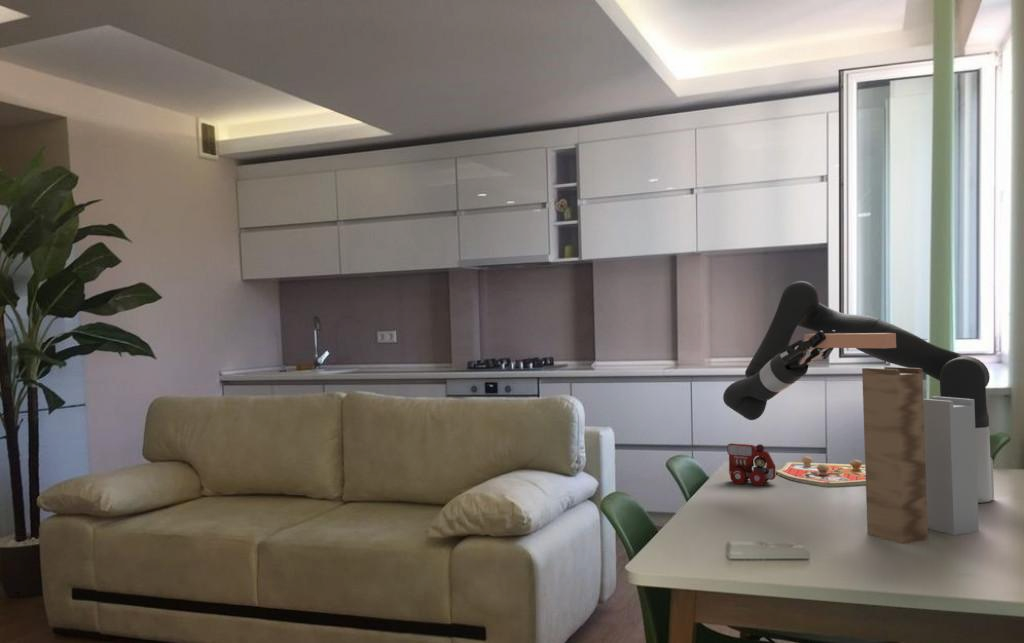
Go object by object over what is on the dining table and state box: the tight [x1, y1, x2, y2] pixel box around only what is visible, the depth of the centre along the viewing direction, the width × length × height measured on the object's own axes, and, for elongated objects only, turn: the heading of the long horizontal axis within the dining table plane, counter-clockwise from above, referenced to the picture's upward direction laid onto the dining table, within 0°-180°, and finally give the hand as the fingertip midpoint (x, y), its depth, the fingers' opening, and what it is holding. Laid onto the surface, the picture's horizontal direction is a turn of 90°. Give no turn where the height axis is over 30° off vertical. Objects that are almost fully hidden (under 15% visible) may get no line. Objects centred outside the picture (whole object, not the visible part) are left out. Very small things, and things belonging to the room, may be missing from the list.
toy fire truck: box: [726, 442, 777, 487], centre depth 206 cm, size 7×12×10 cm, turn 58°
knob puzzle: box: [775, 455, 866, 488], centre depth 212 cm, size 29×30×4 cm
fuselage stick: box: [803, 333, 896, 349], centre depth 166 cm, size 3×22×3 cm, turn 23°
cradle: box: [923, 395, 980, 536], centre depth 157 cm, size 7×9×26 cm
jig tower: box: [861, 366, 929, 545], centre depth 152 cm, size 7×8×33 cm
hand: (829, 334), depth 171 cm, fingers closed on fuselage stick, 3 cm apart
